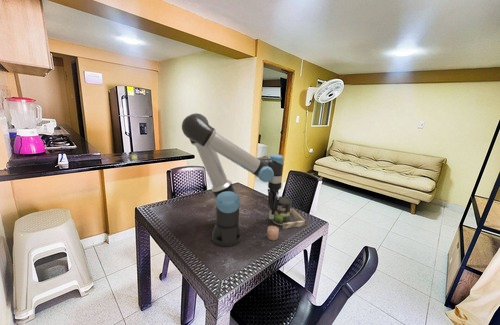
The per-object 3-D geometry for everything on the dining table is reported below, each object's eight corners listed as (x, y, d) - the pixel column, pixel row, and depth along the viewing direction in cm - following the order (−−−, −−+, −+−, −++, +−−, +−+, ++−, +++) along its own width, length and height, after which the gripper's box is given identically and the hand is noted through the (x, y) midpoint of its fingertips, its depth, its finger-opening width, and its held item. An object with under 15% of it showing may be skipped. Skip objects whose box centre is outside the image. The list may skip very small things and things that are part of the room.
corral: (283, 228, 120) (283, 224, 119) (271, 214, 135) (272, 210, 134) (305, 225, 125) (306, 221, 124) (292, 212, 140) (292, 208, 139)
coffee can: (285, 227, 122) (288, 205, 118) (269, 222, 126) (271, 200, 123) (291, 219, 131) (294, 199, 127) (275, 215, 135) (278, 194, 132)
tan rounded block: (269, 241, 108) (270, 232, 107) (265, 234, 114) (265, 226, 112) (279, 239, 110) (280, 231, 109) (275, 233, 116) (275, 225, 114)
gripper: (286, 185, 115) (281, 223, 121) (276, 177, 127) (272, 212, 133) (273, 186, 112) (270, 224, 118) (264, 178, 124) (261, 213, 130)
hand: (271, 218), depth 126 cm, fingers closed
